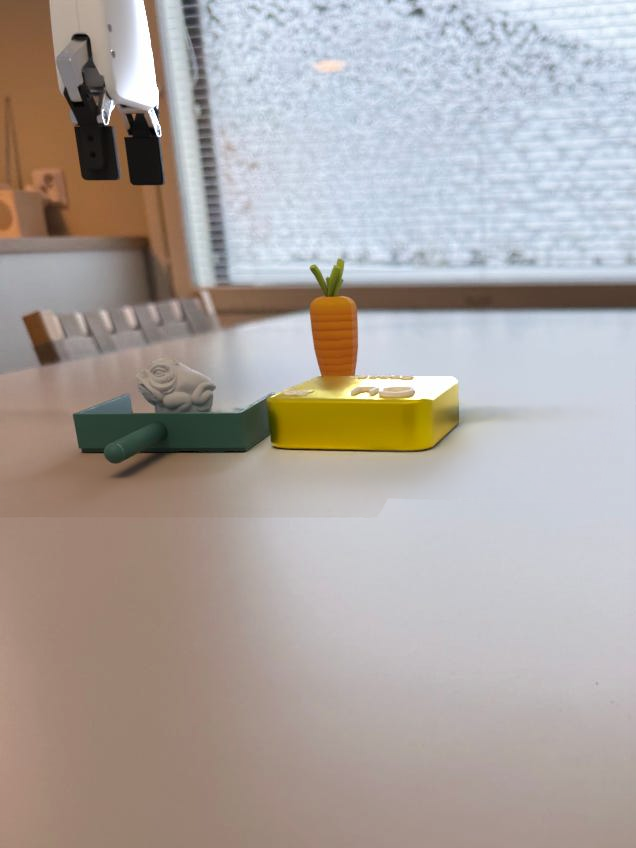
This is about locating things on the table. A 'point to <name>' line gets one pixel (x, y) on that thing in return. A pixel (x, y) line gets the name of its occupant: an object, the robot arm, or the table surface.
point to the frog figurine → (175, 387)
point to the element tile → (364, 413)
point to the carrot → (334, 326)
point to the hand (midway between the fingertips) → (126, 182)
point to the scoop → (167, 429)
